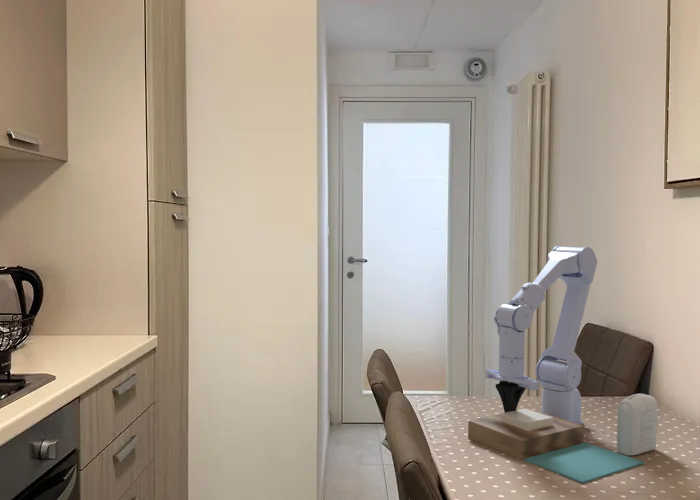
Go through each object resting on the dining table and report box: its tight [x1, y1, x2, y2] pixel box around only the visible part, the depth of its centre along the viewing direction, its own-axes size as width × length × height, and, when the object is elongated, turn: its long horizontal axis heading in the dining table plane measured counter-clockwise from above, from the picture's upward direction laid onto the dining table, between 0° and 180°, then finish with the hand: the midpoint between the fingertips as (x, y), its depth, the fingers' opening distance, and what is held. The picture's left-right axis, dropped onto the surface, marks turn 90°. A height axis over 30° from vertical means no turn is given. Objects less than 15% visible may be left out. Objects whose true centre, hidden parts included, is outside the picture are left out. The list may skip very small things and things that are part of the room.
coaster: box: [500, 408, 553, 431], centre depth 143 cm, size 8×8×2 cm
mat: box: [524, 442, 645, 484], centre depth 131 cm, size 20×14×1 cm
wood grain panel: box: [467, 407, 585, 460], centre depth 144 cm, size 20×16×4 cm
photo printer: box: [616, 393, 659, 457], centre depth 138 cm, size 10×4×12 cm, turn 123°
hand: (509, 414), depth 148 cm, fingers closed
